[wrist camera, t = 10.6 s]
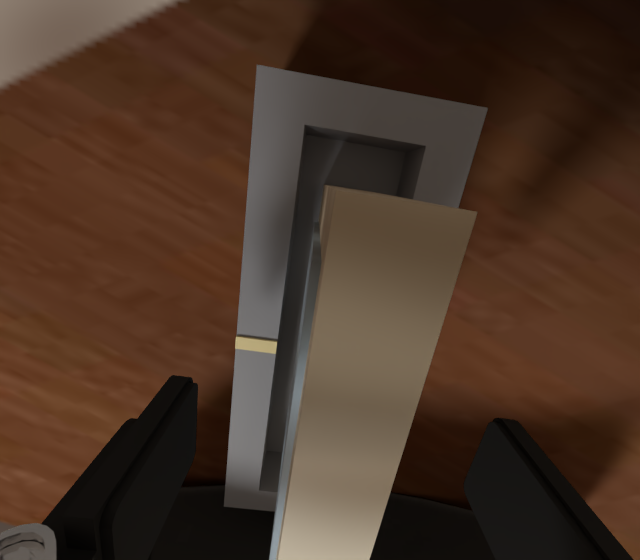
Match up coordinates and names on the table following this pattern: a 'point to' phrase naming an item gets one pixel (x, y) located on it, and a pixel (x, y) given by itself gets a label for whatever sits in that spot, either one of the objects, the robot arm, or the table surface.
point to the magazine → (257, 525)
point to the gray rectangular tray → (298, 222)
